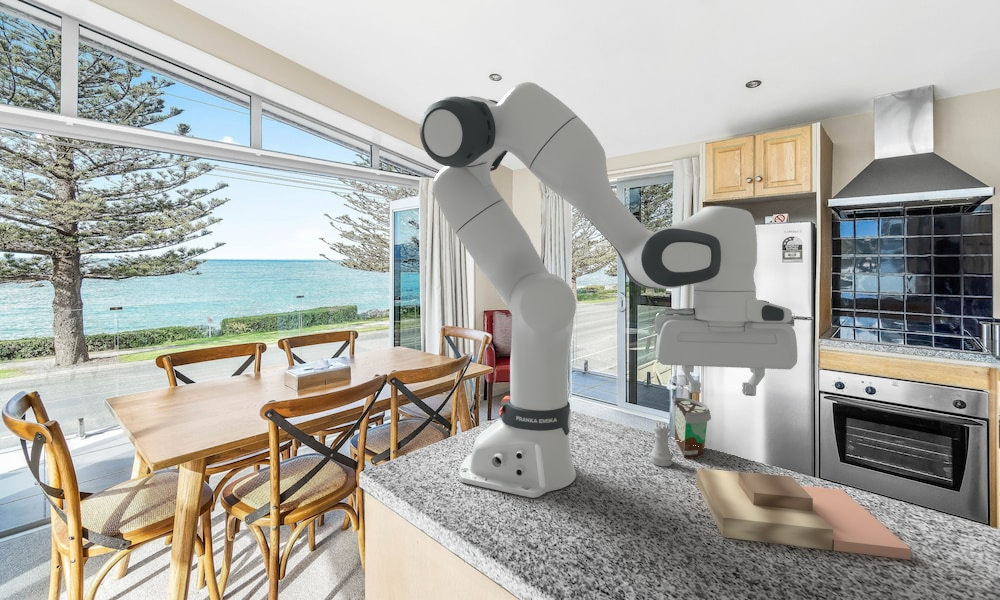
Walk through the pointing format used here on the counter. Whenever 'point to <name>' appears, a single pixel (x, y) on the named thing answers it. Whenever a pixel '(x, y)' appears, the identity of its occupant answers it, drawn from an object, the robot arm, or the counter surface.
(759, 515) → the oak board
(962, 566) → the counter surface
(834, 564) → the counter surface
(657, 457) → the rook chess piece
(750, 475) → the walnut tile
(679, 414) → the food container
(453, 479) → the counter surface
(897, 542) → the salmon pink pad
